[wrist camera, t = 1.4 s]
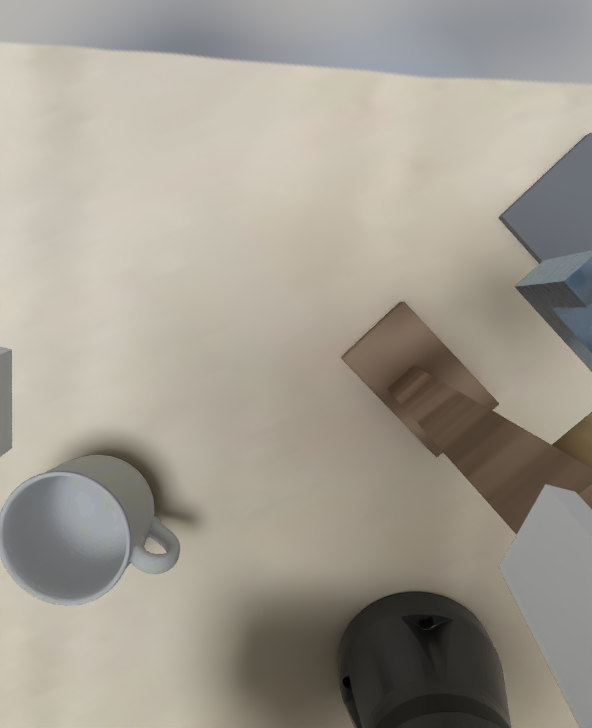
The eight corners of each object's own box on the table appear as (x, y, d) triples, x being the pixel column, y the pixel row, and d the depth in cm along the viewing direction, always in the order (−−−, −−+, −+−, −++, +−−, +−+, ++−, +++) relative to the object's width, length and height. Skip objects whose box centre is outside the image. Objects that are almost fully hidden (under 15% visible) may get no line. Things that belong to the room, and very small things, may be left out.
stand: (554, 345, 34) (1084, 428, 11) (431, 451, 36) (652, 722, 13) (462, 243, 34) (815, 89, 10) (341, 357, 36) (394, 456, 12)
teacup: (41, 514, 39) (-28, 567, 31) (84, 420, 38) (23, 450, 30) (168, 579, 39) (131, 647, 32) (215, 488, 38) (189, 536, 30)
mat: (672, 236, 33) (678, 234, 32) (583, 312, 34) (588, 312, 33) (585, 135, 32) (590, 132, 31) (498, 217, 33) (501, 215, 33)
